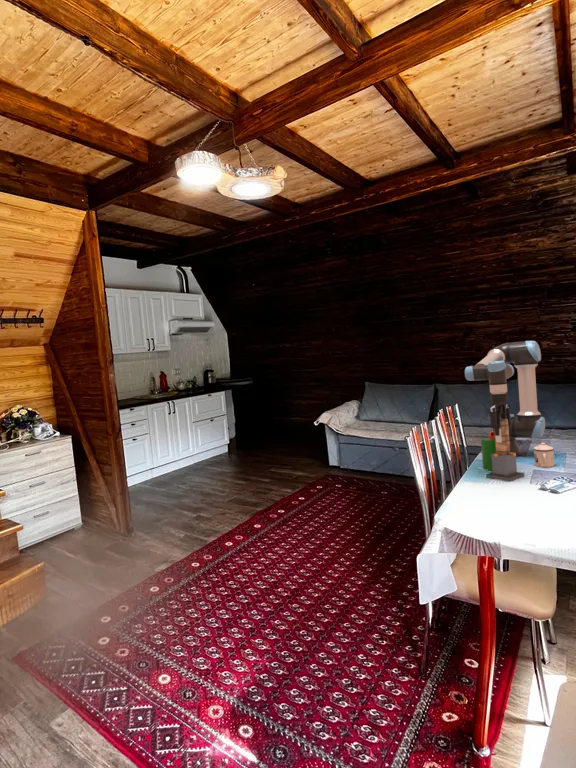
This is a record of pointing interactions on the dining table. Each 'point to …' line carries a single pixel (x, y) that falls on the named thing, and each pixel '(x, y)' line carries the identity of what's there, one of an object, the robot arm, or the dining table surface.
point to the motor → (488, 451)
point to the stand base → (504, 467)
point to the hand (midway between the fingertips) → (502, 441)
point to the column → (503, 438)
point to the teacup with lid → (544, 455)
